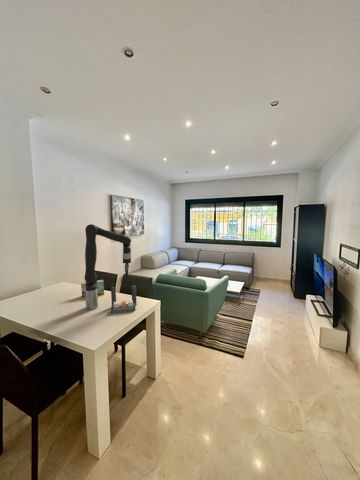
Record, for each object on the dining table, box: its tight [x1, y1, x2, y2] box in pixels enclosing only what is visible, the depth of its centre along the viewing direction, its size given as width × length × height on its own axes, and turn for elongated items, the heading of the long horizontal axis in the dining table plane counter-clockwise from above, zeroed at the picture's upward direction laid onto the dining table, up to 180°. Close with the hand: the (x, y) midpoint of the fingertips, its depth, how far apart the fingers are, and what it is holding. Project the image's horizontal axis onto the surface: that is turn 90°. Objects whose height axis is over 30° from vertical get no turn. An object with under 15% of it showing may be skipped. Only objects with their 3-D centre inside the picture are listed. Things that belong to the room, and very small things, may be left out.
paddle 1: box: [114, 301, 120, 308], centre depth 170 cm, size 4×4×4 cm
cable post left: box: [110, 286, 117, 306], centre depth 178 cm, size 4×4×18 cm
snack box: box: [80, 279, 105, 298], centre depth 204 cm, size 21×6×15 cm, turn 112°
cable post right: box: [131, 285, 137, 306], centre depth 182 cm, size 4×4×18 cm
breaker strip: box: [110, 302, 136, 314], centre depth 171 cm, size 20×7×5 cm, turn 103°
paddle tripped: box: [120, 300, 127, 307], centre depth 171 cm, size 4×4×4 cm
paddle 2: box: [127, 299, 133, 306], centre depth 173 cm, size 4×4×4 cm
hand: (126, 274), depth 185 cm, fingers open, 8 cm apart
